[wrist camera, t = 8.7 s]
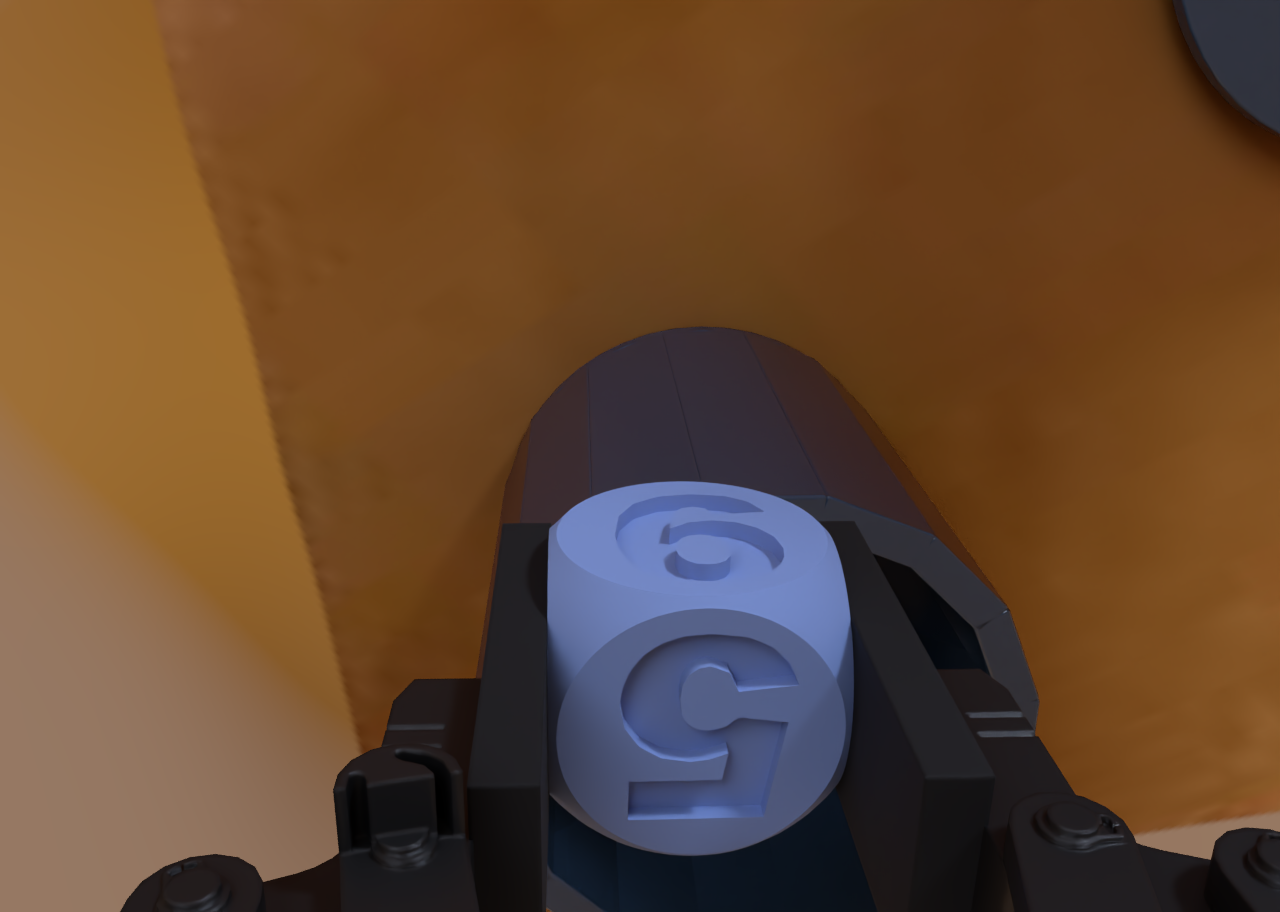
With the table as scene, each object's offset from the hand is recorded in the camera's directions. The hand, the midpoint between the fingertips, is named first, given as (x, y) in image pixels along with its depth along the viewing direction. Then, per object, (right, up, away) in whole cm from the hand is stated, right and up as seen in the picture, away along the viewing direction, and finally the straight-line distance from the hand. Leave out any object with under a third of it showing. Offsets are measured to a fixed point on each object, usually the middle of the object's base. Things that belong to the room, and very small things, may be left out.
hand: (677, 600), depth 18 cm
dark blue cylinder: (+1, +1, +17) cm, 17 cm away
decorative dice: (0, 0, +1) cm, 1 cm away
